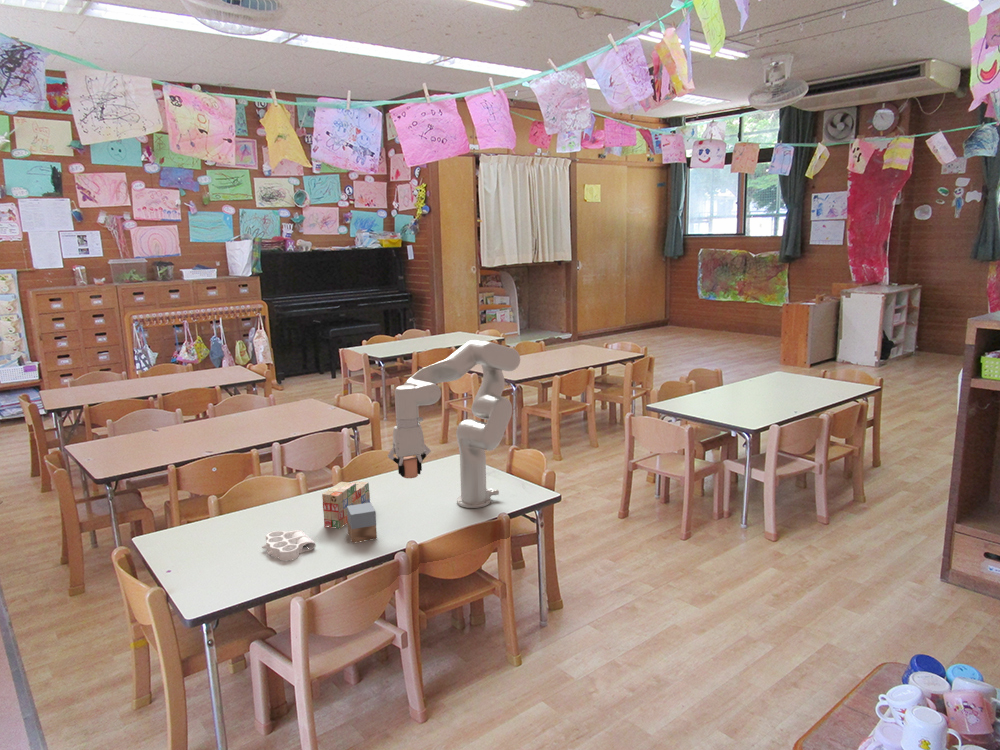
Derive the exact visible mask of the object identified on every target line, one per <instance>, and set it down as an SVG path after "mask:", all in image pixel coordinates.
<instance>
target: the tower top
mask: <svg viewBox="0 0 1000 750" xmlns="http://www.w3.org/2000/svg"><path fill="white" fill-rule="evenodd" d="M376 512H377V511H376V509H375V508H374V506H373V504H372V502H371V501H370V503H364V504H357V505H351V506H347V517H348V522H349V524H350V526H351V528H352V529H357V528H363V527H369V526H375V525H376V526H377V513H376Z"/></svg>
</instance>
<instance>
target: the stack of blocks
mask: <svg viewBox="0 0 1000 750" xmlns="http://www.w3.org/2000/svg"><path fill="white" fill-rule="evenodd" d="M369 484H370V483H369V482H368V481H356V480H353V481H351V482H346V481H340V482H338V483H337V484H335V485H333V486H332V487H331V488H329V489H328V490H326V491H325V492H323V493H322V495H321V496H322V497H321V498H322V511H323V512H322V513H323V522H324V527H325V526H329V527H328V528H331V527H336V528H335V529H339V528H340V529H342V526H343V525H344V526H346V525H347V524H346V523H347V520H348V517H347V506H351V505H357V504H364V503H370V502H371V496H370V495H371V493H370V486H369ZM345 524H346V525H345ZM344 526H343V527H344Z"/></svg>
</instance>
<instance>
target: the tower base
mask: <svg viewBox="0 0 1000 750" xmlns="http://www.w3.org/2000/svg"><path fill="white" fill-rule="evenodd" d="M346 525H347V535H348V534H349V535H348V537H349V536H350V537H349V539H350V538H351V539H350V540H352V541H351V542H352V544H355V542H357V543H361V542H360V541H362V542H365V541H364V540H368V541H371V540H370V539H373V540H377V539H378V537H377V534H378V533H377V524H376V525H375V526H369V527H363V528H357V529H352V528H351V526H350V524H349V522H348V520H347V524H346ZM376 538H377V539H376Z"/></svg>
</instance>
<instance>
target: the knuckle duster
mask: <svg viewBox="0 0 1000 750" xmlns="http://www.w3.org/2000/svg"><path fill="white" fill-rule="evenodd" d="M303 546H304V547H305V548H304V547H303ZM306 547H308V548H309V549H308V548H306ZM315 547H316V542H315V541H314V540H312V539H311V538H310V536H308V535H307V534H306V533H305V531H303V530H300V529H295V530H291V531H284V530H274V531H271V532H269V533H267V534H266V535H265V544H264V545H263V546H261V548H262V549H265V550H266V552H267V551H268V552H267V555H270V556H271V555H272V556H271V557H272V558H278V557H279V558H278V559H279V560H280V561H281V560H284V561H285V560H290V561H293V560H292V559H294V560H296V559H297V558H299V556H300V554H302V553H304V552H309V551H312V550H314V548H315ZM299 553H300V554H299ZM295 558H296V559H295ZM284 561H283V562H284ZM285 562H286V561H285Z"/></svg>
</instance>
